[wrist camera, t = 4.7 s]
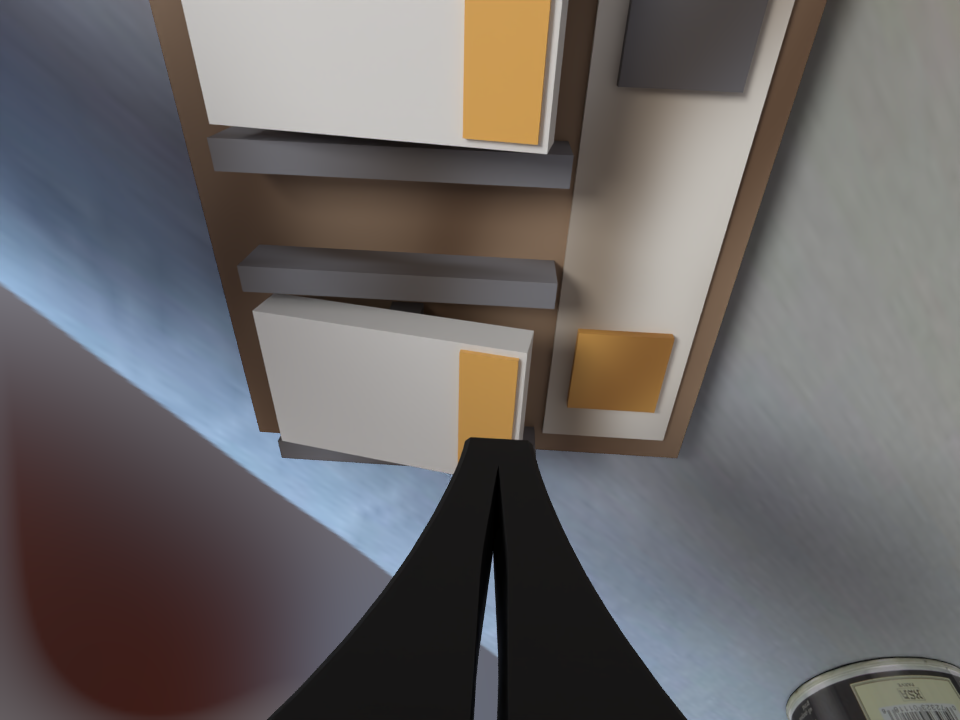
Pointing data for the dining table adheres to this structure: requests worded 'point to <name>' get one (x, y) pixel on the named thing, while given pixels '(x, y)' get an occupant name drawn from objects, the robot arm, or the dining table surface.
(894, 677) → the coffee can
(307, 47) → the rocker middle
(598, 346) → the switch board
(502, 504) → the robot arm
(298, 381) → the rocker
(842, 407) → the dining table surface
